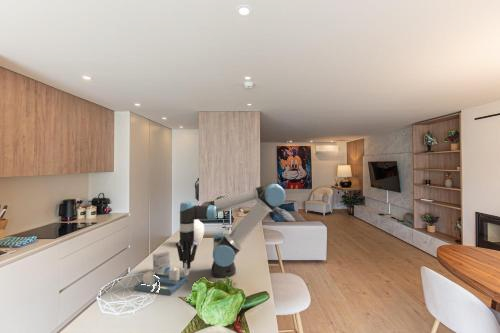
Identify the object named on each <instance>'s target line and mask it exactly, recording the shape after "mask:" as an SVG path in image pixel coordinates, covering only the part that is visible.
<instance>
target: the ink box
mask: <svg viewBox="0 0 500 333" xmlns="http://www.w3.org/2000/svg"><path fill="white" fill-rule="evenodd" d="M170 255H171V254H170V251H168V250H163V251H159V252H157V253H153V254H152V272H156V273H165V274H166V273H167V272H168V273H169V270H170V269H171V266H170V265H171V264H170V262H171V261H170V257H171V256H170Z"/></svg>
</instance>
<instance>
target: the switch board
mask: <svg viewBox="0 0 500 333" xmlns="http://www.w3.org/2000/svg"><path fill="white" fill-rule="evenodd" d="M155 275H156V276H158V277H159V278H160V279H158V278H156V277H155V283H156V282H157V286H155V289H154V291H153V292H154V293H153V292H152V293H153V294H156V293H155V292H156V291H157V290H158V288H159V286H158V285H159V282H160V290H159V293H158V294H159V295H160V294H161V295H167V296H172V295H173V294H175V293H176V292H177V291H178V290H180V288H182V287H183V286H184V285H185V284H187V283H188V282H189V281H188V280H189V278H188V277H189V276H188V277H187V275H180V274H179V280H178V281H174V280H169V273H166V272H165V273H156V272H155ZM158 280H159V282H158ZM141 284H143V279H142V280H140V282H139V281H138V282H137V283H136V284H135V285H133V287H134V288H133V289H134V291H138V292H139V291H141V292H146V291H151V290H152V289H153V286H152V285H150V286H147V285H141Z"/></svg>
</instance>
